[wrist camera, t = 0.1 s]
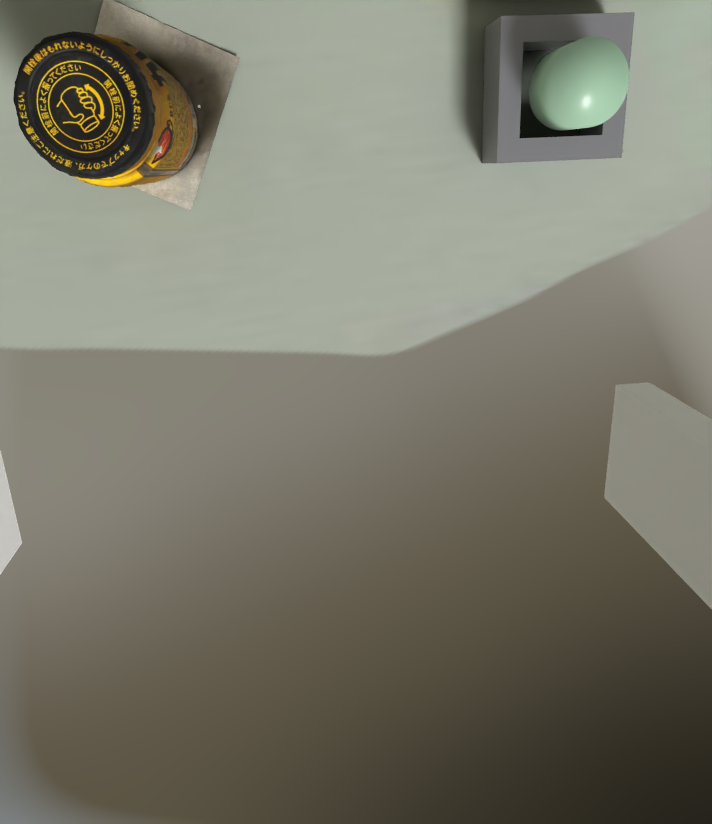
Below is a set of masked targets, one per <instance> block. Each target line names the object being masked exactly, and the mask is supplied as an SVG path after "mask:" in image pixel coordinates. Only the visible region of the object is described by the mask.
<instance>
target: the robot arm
mask: <svg viewBox="0 0 712 824" xmlns="http://www.w3.org/2000/svg"><path fill="white" fill-rule="evenodd" d="M604 498H605V499H607V501H608V502H609V503H610V504H611V505H612V506H613V507H614V508H615V509H616V510H617V511H618V512H619V513H620V514H621V515H622V516H623V517H624V518H625V519H626V520H627V521H628V522H629V524H631V526H632V527H633V528H634V529H635V530H636V531H637V532H638V533H639V534H640V535H641V536H642V537H643V538H644V539H645V540H646V541H647V542H648V543H649V544H650V545H651V547H652V548H653V549H654V550H656V552H657V553H658V554H659V555H660V556H661V557H662V558H663V559H664V560H665V561H666V562H667V563H668V564H669V565H670V566H671V567H672V568H673V569H674V570H675V571H676V572H677V574H678V575H679V576H681V578H682V579H683V580H684V581H685V582H686V583H687V584H688V585H689V586H690V587H691V588H692V589H693V590H694V591H695V592H696V593H697V594H698V596H699V597H700V598H701V599H702V600H703V601H704V602H705V603H706V604H707V605H708V606H709V607H710V608H711V609H712V420H711V419H709V418H708V417H706V416H704V415H703V414H701V413H699V412H698V411H696V410H694V409H693V408H691V407H689V406H688V405H686V404H684V403H683V402H681V401H679V400H678V399H676V398H674V397H672V396H671V395H669V394H668V393H666V392H664V391H662V390H661V389H659V388H658V387H656V386H654V385H653V384H651V383H637V384H621V385H616V390H615V400H614V410H613V419H612V429H611V438H610V448H609V457H608V466H607V477H606V485H605V496H604ZM21 544H22V541H21V536H20V532H19V528H18V523H17V519H16V516H15V511H14V506H13V502H12V498H11V494H10V489H9V485H8V481H7V476H6V472H5V468H4V464H3V459H2V456H1V451H0V574H1V572H2V571H3V569H4V568H5V567H6V565H7V564H8V562H9V561H10V559H11V558H12V557H13V555H14V554H15V552H16V551H17V549H18V548H19V546H20V545H21Z"/></svg>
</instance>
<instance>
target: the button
mask: <svg viewBox="0 0 712 824" xmlns="http://www.w3.org/2000/svg"><path fill="white" fill-rule="evenodd" d="M628 86H629V68H628V64H627V61H626V58H625V56H624V54H623V53H622V51H621V50H620V48H619V47H618V46H617V45H616V44H614V43H613V42H612V41H610V40H608V39H605V38H602V37H596V36H591V37H585V38H582V39H579V40H577V41H574V42H572V43H570V44H567V45H565V46H562V47H560V48H558V49H555V50H553V51H551V52H550V53H548V54H547V55H546V56H544V57H543V58H542V59H541V60H540V62H539V63H538V64H537V66H536V67H535V69H534V71H533V73H532V75H531V78H530V82H529V89H528V97H529V103H530V107H531V109H532V112H533V113H534V115H535V117H536V118H537V119H538V120H539V121H540V122H541V123H542V124H543V125H545V126H546V127H548V128H551V129H554V130H571V129H580V128H588V127H594V126H597V125H600V124H602V123H604V122H605V121H607V120H608V119H610V118H611V117H612V116H613V115H614V114H615V113H616V112H617V111H618V109H619V108H620V106H621V105H622V103H623V101H624V99H625V97H626V94H627V91H628Z"/></svg>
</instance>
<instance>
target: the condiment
mask: <svg viewBox="0 0 712 824" xmlns="http://www.w3.org/2000/svg"><path fill="white" fill-rule="evenodd" d="M238 62H239V57H237V56H234V55H232V54H230V53H228V52H225V51H223V50H221V49H219V48H216V47H214V46H212V45H210V44H208V43H205V42H203V41H201V40H198V39H197V38H195V37H192V36H190V35H188V34H185V33H183V32H181V31H179V30H177V29H175V28H172V27H170V26H168V25H166V24H162V23H161V22H159V21H157V20H155V19H153V18H151V17H148V16H146V15H144V14H142V13H140V12H138V11H135V10H133V9H131V8H129V7H127V6H125V5H123V4H120V3H118V2H116V1H114V0H103V2H102V6H101V9H100V13H99V17H98V21H97V25H96V29H95V32H94V34H90V33H81V32H68V33H63V34H58V35H55V36H49V37H46V38H44V39H43V40H42V41H41V42H40V43H39V44H37V45H36V46H35V47H34V49H33V50H32V51H31V52H30V53H29V54H28V55H27V56H25V57H24V59H23V61H22V63H21V65H20V68H19V71H18V75H17V78H16V81H15V89H14V104H15V106H16V110H17V116H18V120H19V126H20V128H21V130H22V132H23V134H24V136H25V137H26V139H27V140H28V142H29V143H30V144H31V146H32V147H33V148H34V149H35V150H36V151H37V153H38V154H39V155H40V156H41V157H43V158H44V159H45V160H47V161H48V162H49V163H50V164H51V166H52V167H54V168H56V169H57V170H59V171H62V172H65V173H67V174H69V175H70V176H74V177H76V178H78V179H79V180H81V181H84V182H86V183H89V184H93V185H97V186H104V187H125V186H126V187H129V186H132V187H134V188H137V189H139V190H141V191H144V192H146V193H149V194H151V195H154V196H156V197H159V198H161V199H164V200H166V201H168V202H171V203H173V204H176V205H178V206H181V207H183V208H186V209H188V210H191V208H192V205H193V202H194V199H195V196H196V193H197V190H198V187H199V184H200V181H201V178H202V174H203V171H204V168H205V165H206V162H207V159H208V156H209V153H210V150H211V147H212V143H213V140H214V137H215V134H216V131H217V127H218V124H219V121H220V117H221V115H222V112H223V109H224V106H225V102H226V99H227V97H228V93H229V90H230V87H231V83H232V80H233V77H234V74H235V71H236V68H237V65H238ZM198 105H200V106H201V109H200V108H198V107H197V106H198Z"/></svg>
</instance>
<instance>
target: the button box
mask: <svg viewBox="0 0 712 824" xmlns="http://www.w3.org/2000/svg"><path fill="white" fill-rule="evenodd" d="M633 23H634V12H630V13H592V14H554V15H516V16H501V17H499V18H498V19H496V20H495V21H493V22H492V23H490V24H489V25H487V26H486V27H485V50H484V93H483V137H482V163H511V162H533V161H556V160H579V159H602V158H621V157H622V146H623V135H624V123H625V112H626V101H627V94H626V97H625V99H624V101H623V103H622V105H621V106H620V108H619V109H618V111H617V112H616V113H615V114H614V115H613V116H612V117H611V118H610V119H608V120H607V121H605V122H604V123H602V124H600V125H597V126H594V127H588V128H580V136H565V137H541V138H520V115H521V90H522V65H523V50H553V49H558V48H560V47H562V46H565V45H567V44H570V43H572V42H574V41H577V40H579V39H582V38H585V37H591V36H596V37H602V38H605V39H608V40H610V41H612V42H613V43H614V44H616V45H617V46H618V47H619V48H620V50H621V51H622V53H623V54H624V56H625V58H626V61H627V64H628V68H630V57H631V45H632V34H633Z"/></svg>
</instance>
